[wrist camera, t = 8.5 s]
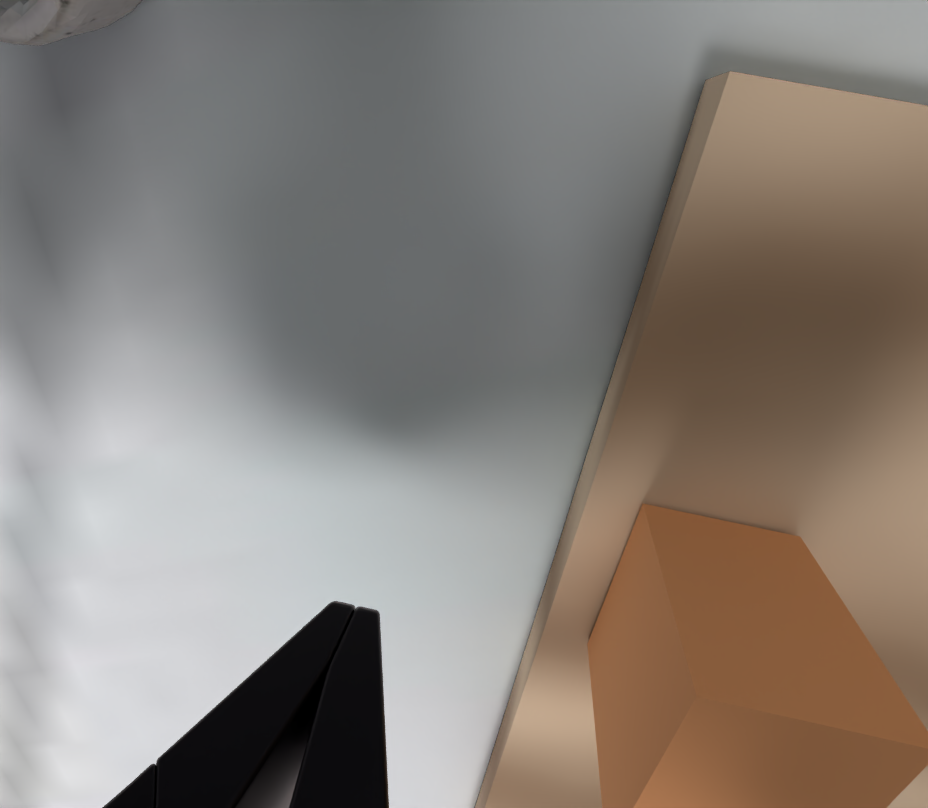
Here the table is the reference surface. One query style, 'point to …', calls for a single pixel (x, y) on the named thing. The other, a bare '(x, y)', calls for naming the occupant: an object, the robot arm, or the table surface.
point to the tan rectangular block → (740, 678)
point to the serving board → (756, 397)
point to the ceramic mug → (57, 18)
